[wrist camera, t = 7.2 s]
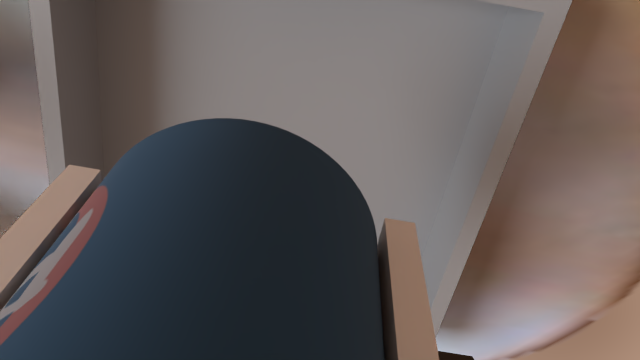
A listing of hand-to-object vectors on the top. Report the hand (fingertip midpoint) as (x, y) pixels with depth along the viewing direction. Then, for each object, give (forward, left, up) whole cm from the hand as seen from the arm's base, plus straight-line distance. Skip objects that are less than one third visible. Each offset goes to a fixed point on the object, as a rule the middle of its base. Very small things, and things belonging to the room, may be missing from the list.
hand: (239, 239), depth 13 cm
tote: (+5, 0, -14) cm, 15 cm away
